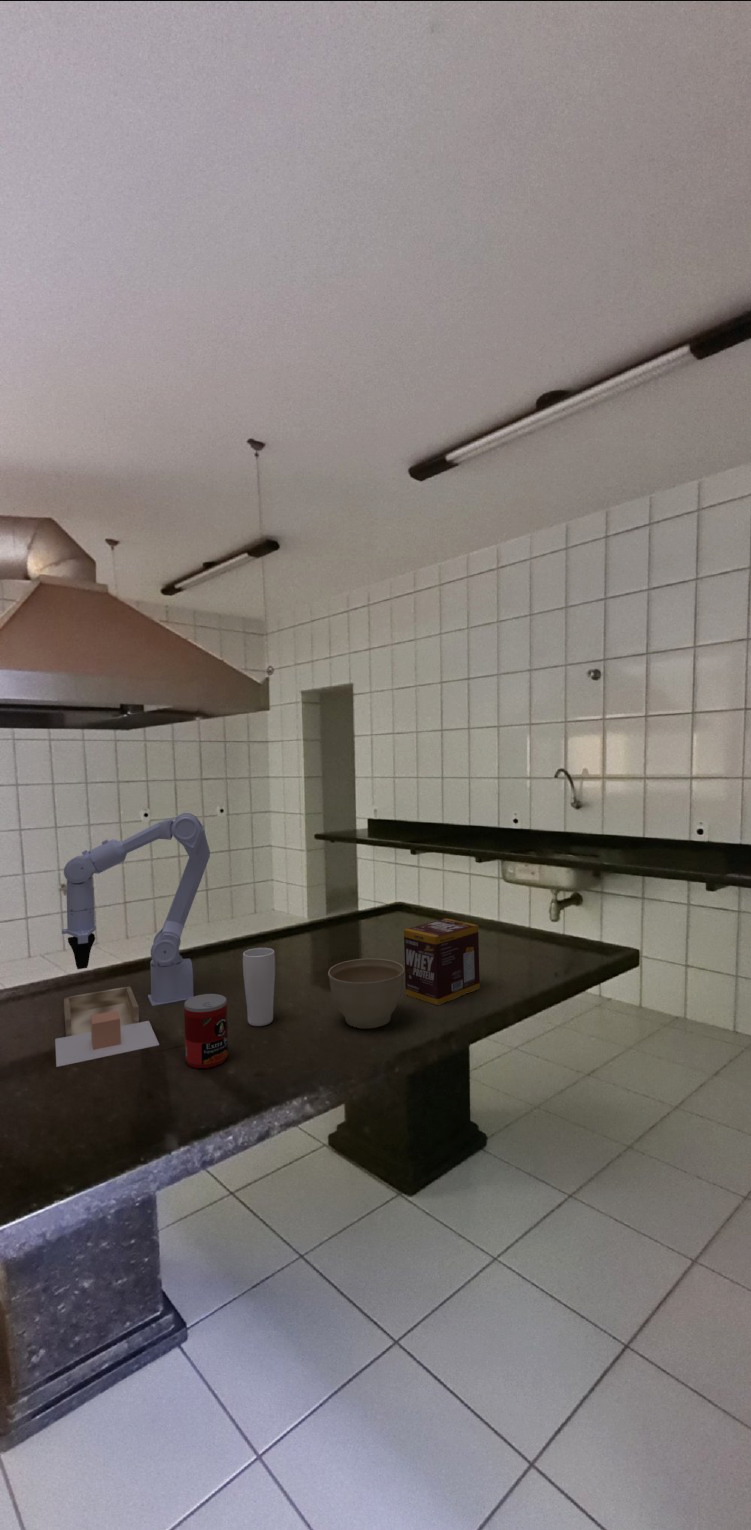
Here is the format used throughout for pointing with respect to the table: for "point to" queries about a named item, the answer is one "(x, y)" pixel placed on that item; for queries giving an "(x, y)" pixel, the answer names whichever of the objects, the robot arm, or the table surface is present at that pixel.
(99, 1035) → the block
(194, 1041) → the canned food
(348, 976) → the planter bowl
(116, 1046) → the mat
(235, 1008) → the table surface
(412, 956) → the supplement box
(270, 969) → the drinking glass
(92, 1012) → the open box
